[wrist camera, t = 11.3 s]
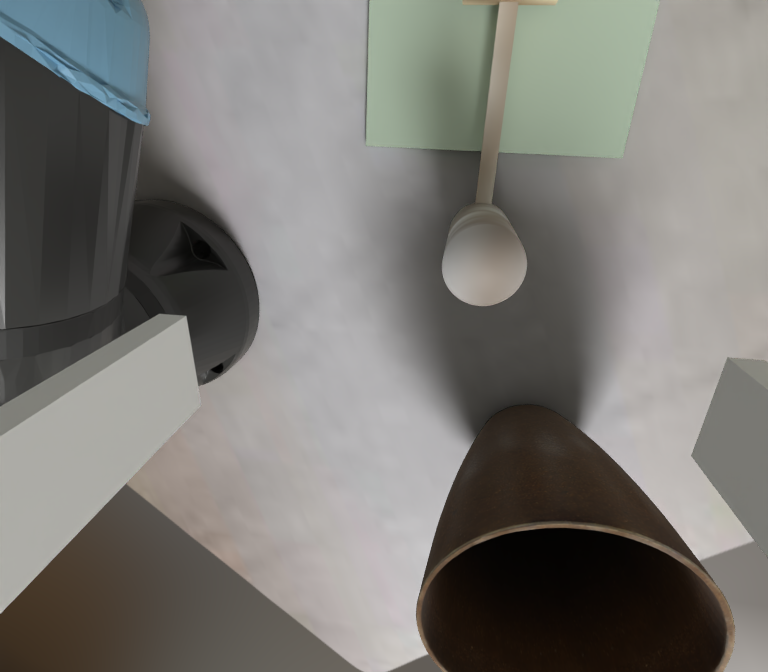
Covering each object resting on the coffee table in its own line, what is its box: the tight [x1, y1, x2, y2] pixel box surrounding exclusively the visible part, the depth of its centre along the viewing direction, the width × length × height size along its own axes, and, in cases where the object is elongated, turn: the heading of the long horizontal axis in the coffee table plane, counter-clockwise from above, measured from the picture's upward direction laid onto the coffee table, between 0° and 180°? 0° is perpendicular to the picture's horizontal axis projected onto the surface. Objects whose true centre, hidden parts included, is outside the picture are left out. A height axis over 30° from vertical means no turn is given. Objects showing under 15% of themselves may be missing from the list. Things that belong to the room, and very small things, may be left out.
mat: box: [366, 0, 660, 158], centre depth 26 cm, size 16×15×1 cm
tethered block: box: [442, 0, 558, 306], centre depth 22 cm, size 5×20×9 cm, turn 178°
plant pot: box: [416, 405, 735, 672], centre depth 30 cm, size 15×15×16 cm
